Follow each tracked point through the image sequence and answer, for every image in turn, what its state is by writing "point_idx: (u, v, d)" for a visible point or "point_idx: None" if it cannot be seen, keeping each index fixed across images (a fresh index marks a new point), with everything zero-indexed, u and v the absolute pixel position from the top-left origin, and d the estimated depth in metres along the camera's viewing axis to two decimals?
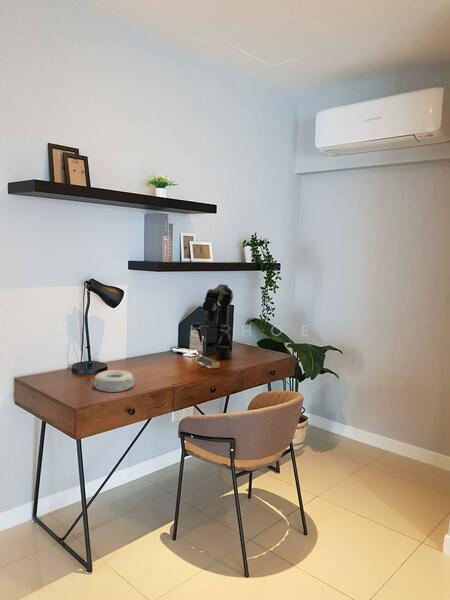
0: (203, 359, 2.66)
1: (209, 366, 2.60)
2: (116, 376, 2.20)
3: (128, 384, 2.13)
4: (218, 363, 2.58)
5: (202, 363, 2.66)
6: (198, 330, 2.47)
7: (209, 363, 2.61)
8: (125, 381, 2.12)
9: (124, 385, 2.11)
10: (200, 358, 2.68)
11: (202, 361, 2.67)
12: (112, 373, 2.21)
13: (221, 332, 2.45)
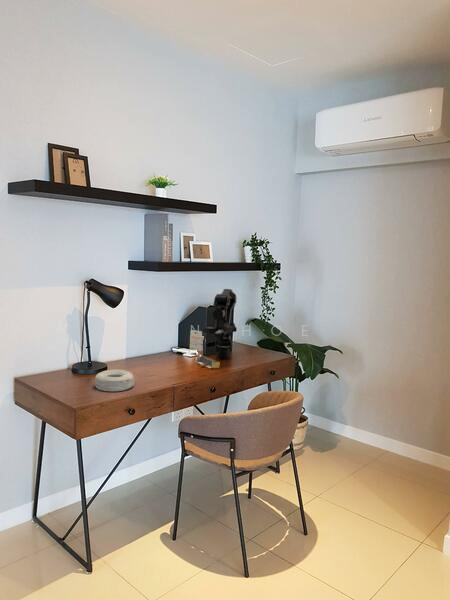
0: (203, 359, 2.66)
1: (209, 366, 2.60)
2: (116, 376, 2.21)
3: (128, 384, 2.13)
4: (218, 363, 2.58)
5: (202, 363, 2.66)
6: (220, 335, 2.64)
7: (209, 363, 2.61)
8: (125, 381, 2.12)
9: (124, 385, 2.12)
10: (200, 358, 2.68)
11: (202, 361, 2.67)
12: (112, 373, 2.21)
13: (225, 334, 2.66)
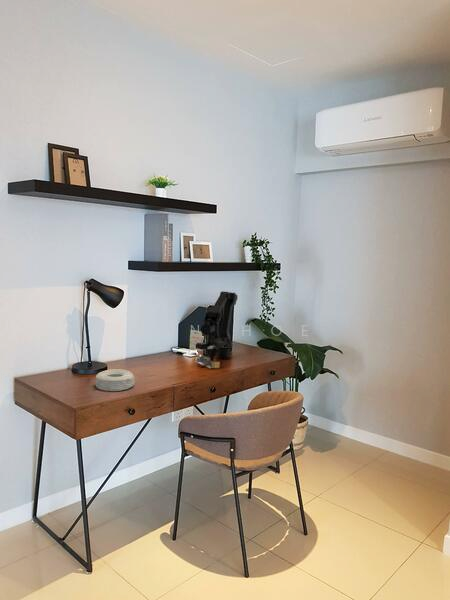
0: (203, 359, 2.66)
1: (209, 366, 2.60)
2: (117, 375, 2.21)
3: (129, 383, 2.14)
4: (218, 363, 2.58)
5: (202, 363, 2.66)
6: (212, 350, 2.62)
7: (209, 363, 2.61)
8: (126, 380, 2.13)
9: (124, 384, 2.12)
10: (200, 358, 2.68)
11: (202, 361, 2.67)
12: (113, 372, 2.22)
13: None
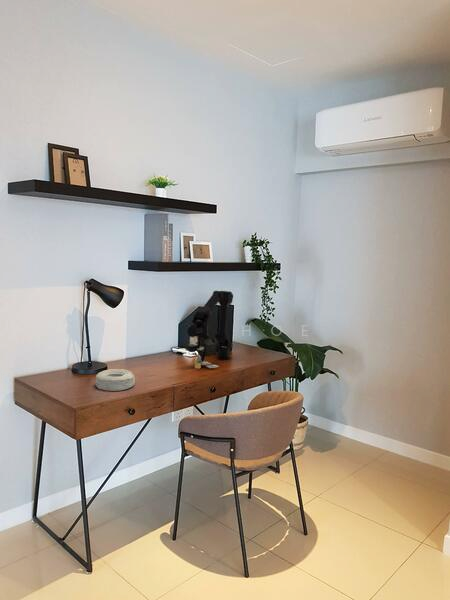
0: None
1: (209, 366, 2.60)
2: (117, 375, 2.22)
3: (129, 383, 2.15)
4: (199, 364, 2.54)
5: (202, 363, 2.66)
6: (202, 351, 2.59)
7: None
8: (126, 380, 2.13)
9: (125, 384, 2.13)
10: (197, 358, 2.69)
11: None
12: (113, 372, 2.22)
13: (207, 350, 2.60)
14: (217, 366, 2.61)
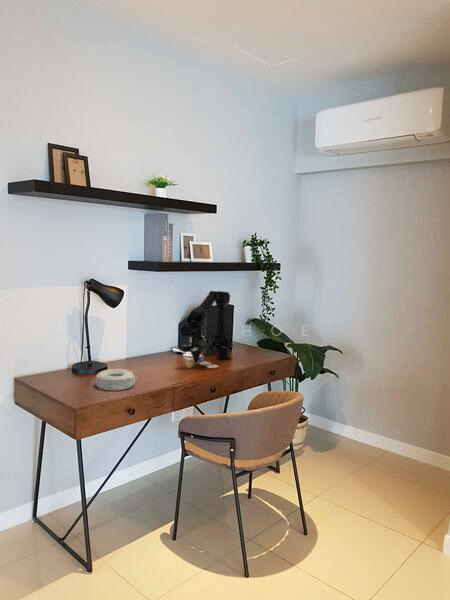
0: None
1: (209, 366, 2.60)
2: (117, 375, 2.22)
3: (129, 383, 2.15)
4: (189, 363, 2.55)
5: (202, 363, 2.66)
6: (196, 352, 2.56)
7: None
8: (126, 380, 2.14)
9: (125, 384, 2.13)
10: None
11: None
12: (113, 372, 2.23)
13: (201, 351, 2.57)
14: (217, 366, 2.61)
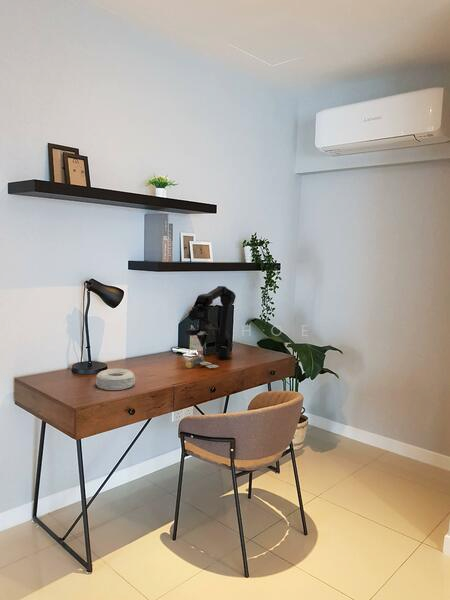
0: None
1: (209, 366, 2.60)
2: (117, 375, 2.23)
3: (129, 382, 2.15)
4: (189, 363, 2.55)
5: (202, 363, 2.66)
6: (202, 336, 2.57)
7: None
8: (126, 379, 2.14)
9: (125, 383, 2.14)
10: None
11: None
12: (113, 372, 2.23)
13: (207, 336, 2.59)
14: (217, 366, 2.61)
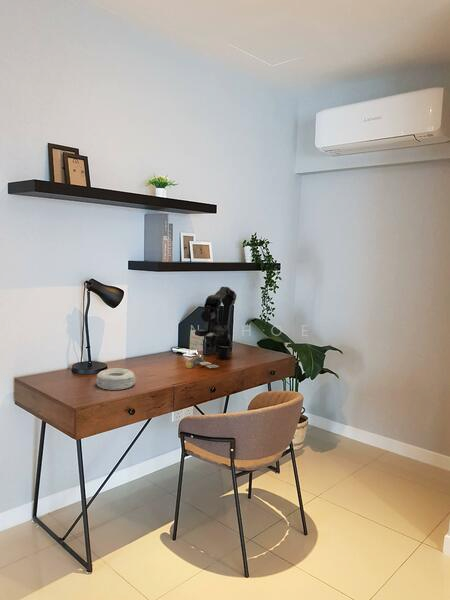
0: None
1: (209, 366, 2.60)
2: (118, 374, 2.23)
3: (130, 382, 2.16)
4: (189, 363, 2.55)
5: (202, 363, 2.66)
6: (211, 337, 2.58)
7: None
8: (127, 379, 2.15)
9: (125, 383, 2.14)
10: None
11: None
12: (114, 371, 2.23)
13: (216, 337, 2.60)
14: (217, 366, 2.61)
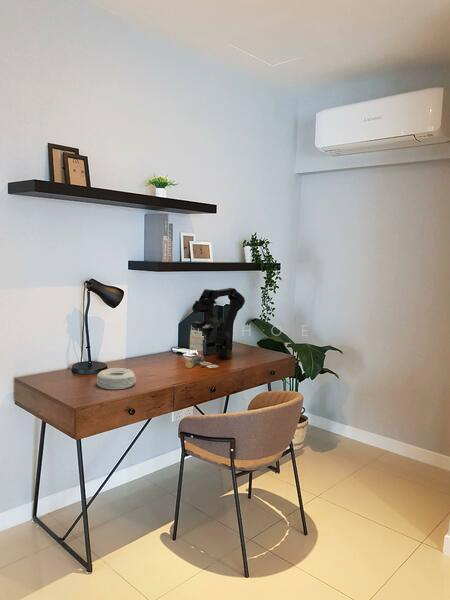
0: None
1: (209, 366, 2.60)
2: (118, 374, 2.24)
3: (130, 382, 2.17)
4: (189, 363, 2.55)
5: (202, 363, 2.66)
6: (207, 329, 2.66)
7: None
8: (127, 379, 2.15)
9: (126, 383, 2.15)
10: None
11: None
12: (114, 371, 2.24)
13: (212, 329, 2.68)
14: (217, 366, 2.61)
